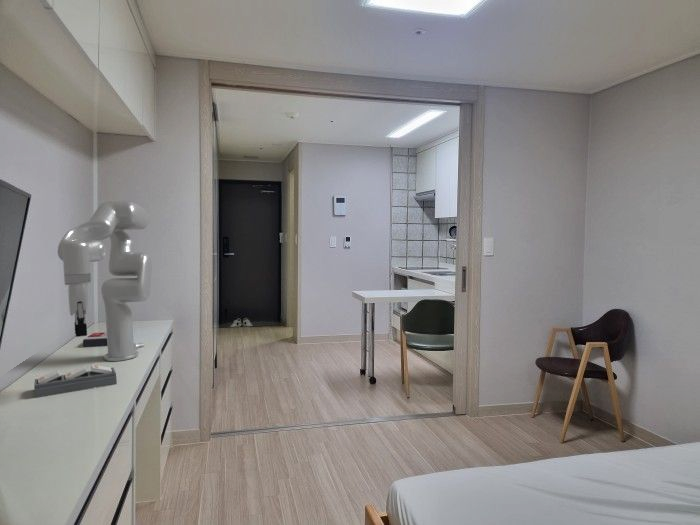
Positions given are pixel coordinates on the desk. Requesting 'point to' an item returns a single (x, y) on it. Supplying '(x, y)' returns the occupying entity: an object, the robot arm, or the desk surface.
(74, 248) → the robot arm
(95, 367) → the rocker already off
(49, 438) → the desk surface
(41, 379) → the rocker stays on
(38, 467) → the desk surface
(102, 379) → the rocker switch panel
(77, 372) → the rocker middle
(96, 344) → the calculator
